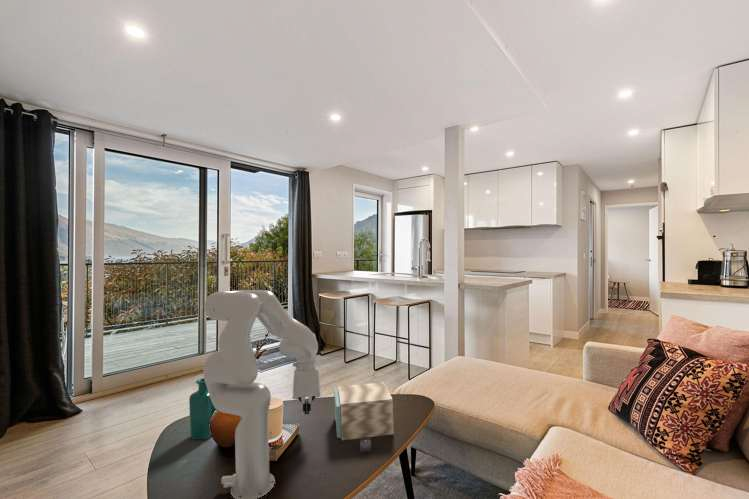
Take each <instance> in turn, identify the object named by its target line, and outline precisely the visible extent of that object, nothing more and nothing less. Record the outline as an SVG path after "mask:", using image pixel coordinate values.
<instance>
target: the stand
mask: <svg viewBox="0 0 749 499" xmlns="http://www.w3.org/2000/svg"><path fill="white" fill-rule="evenodd" d="M371 451H372V439H371V437H362V438H359V452H360V453H363V454H367V453H370V452H371Z"/></svg>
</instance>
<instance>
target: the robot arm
mask: <svg viewBox="0 0 749 499" xmlns="http://www.w3.org/2000/svg"><path fill="white" fill-rule="evenodd" d="M203 310H204V313H205V315H206V316H207V318H209V319H211V320H214V321H222V322H225V321H226V322H227V323H226V324H225V326H224V328H222V329H223V330H222V331H221V332H220V335H219V339H218V347H219V348H218V349H219V350H217V351H214V352H212V353H210V355H209V356H207V358H206V359H205V361H204V365H203V370H202V371H203V374H202V375H203V378H204V380H205V383H206V386H207V389H208V392H209V395H210V398H211V401H212V403H213V406H214V407H215V409H216V410H217V411H218V413H222V414H228V415H235V416H238V417H240V421H239V423H238V424H237V426H236V428H235V431H234V444H235V445H234V446H235V447H234V450H235V451H234V452H235V454H234V455H235V473H233V474H232V475H223V476H222V477H221V480H220V481H221V482H220V483H221V485H223V488H225V489H226V488H230V496H231V495H232V496H233V498H235V499H257V498H260V497H262V496H264V495H266V494H267V493H268V492H269V491H270V490H271V489H272V488H273V487H274V488H275V486H274V484H275V485H276V479H275V476H274V475H273V474H272V473H270V450H269V448H270V447H269V446H270V445H269V444H270V443H269V412H270V407H269V406H271V397H272V396H271V395H272V394H271V390H270V389H269V388H268V387H267V385H265V384H263V383H259V382H254V381H255V380H257V377H258V373H259V369H258V368H259V367H258V362H257V359H256V355H255V352H254V348H253V344H252V340H251V339H252V338H251V333H252V328H253V326H254V324H255V322H256V319H258V320H259V321H260V323H261V324H262V326H263V327H264V328H265V329H266V331H267V332H268V333H269V334H270V335H271V336H275V337H277V338H279V339H281V341H280V342H279V344H278V345H279V346H278V351H279V353H280V354H281V355H282V356H283V357H288V358H296V361H295V362H293V363H292V367H295V369H294V372H293V379H292V380H293V381H292V383H293V385H292V399H293V400H298V401H299V402H301V404H302V412H304V415H309V414H310V412H312V411H311V410H312V405H311V404H312V402H313V401H314V400H315V399H317V398H320V397H321V392H320V390H321V384H320V383H321V382H320V380H321V379H320V372H319V368H318V366H317V353H318V351H319V344H318V340H317V336H316V334H315V333H314V332H313V331H312V330H311V329H310V327H308V326H306V325H305V324H303V323H302V322H300V321H298V320H297V319H295V318H293V317H291V316H290V315H289V314H288V312H287V311H286V310H285V308H284V306H283V305H282V304H281V302H280V301H279V299H278V297H277V296H276V295H275V294H274V293H273V292H272V291H269V290H268V289H267V290H266V289H244V290H243V289H241V290H231V291H229V290H228V291H227V290H226V291H215V292H213V293H211V294H210V295H209V296H207V298H206V299H205V300H204V305H203ZM306 397H307V398H308V399H307V400H306ZM274 488H273V489H274ZM232 496H231V497H232ZM266 496H267V495H266ZM240 497H241V498H240ZM233 498H232V499H233Z"/></svg>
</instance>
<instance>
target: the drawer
mask: <svg viewBox="0 0 749 499" xmlns="http://www.w3.org/2000/svg"><path fill="white" fill-rule="evenodd" d="M333 390H334V392H333V393H334V394H333V395H334V418H335V426H336V439H341V410H340V402H339V395H338V387H336V388H335V387H334V389H333Z"/></svg>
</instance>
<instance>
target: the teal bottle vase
mask: <svg viewBox="0 0 749 499" xmlns="http://www.w3.org/2000/svg"><path fill="white" fill-rule="evenodd" d="M195 384H198V385H197V386H198V388H197V390H196V391H195V392H193V393H191V394H190V396H189V400H188V402H189V405H188V406H189V407H188V408H189V436H190V439H191V438H194V439H193V440H198V439H206V440H209V439H211V438H212V437H211V433H210V427H209V424H210V419H211V417H212V415H213V413H214V411H215V410H216V409H215V407H214V406H213V403H212V401H211V398H210V395H209V392H208V389H207V386H206V383H205V380H204V377H203V378H198V379H197V380H196V381H195ZM208 438H209V439H208Z"/></svg>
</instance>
